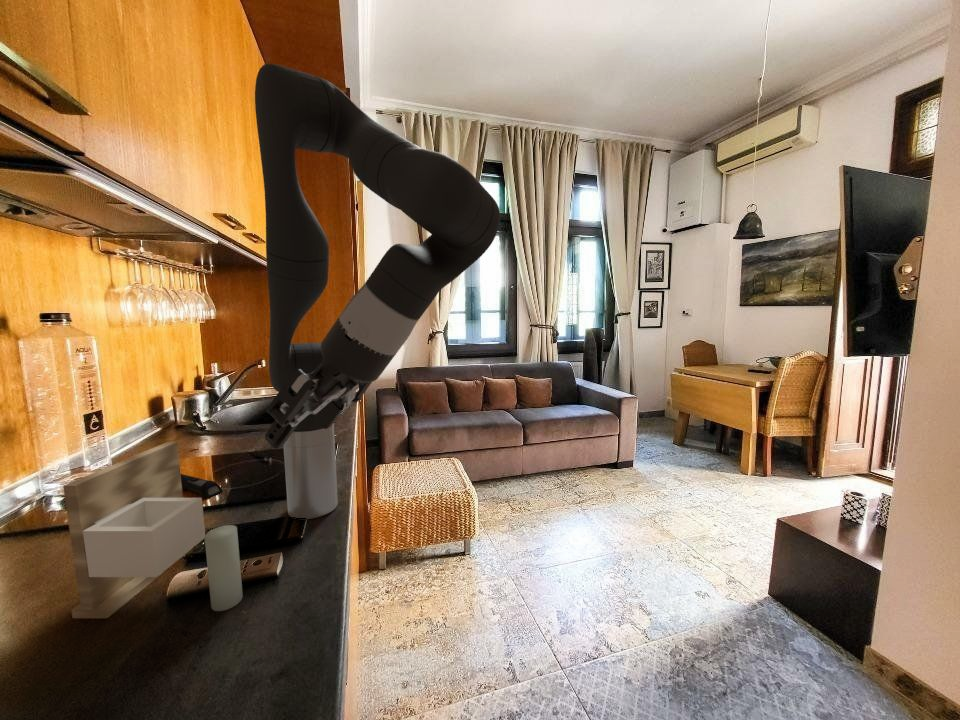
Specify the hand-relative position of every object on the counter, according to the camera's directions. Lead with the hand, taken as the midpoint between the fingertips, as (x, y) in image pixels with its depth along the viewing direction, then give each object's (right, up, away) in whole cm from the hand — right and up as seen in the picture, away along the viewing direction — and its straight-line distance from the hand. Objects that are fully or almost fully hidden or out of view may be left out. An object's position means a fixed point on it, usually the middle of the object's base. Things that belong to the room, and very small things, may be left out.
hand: (298, 432), depth 48 cm
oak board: (-28, -23, +10) cm, 38 cm away
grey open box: (-23, -18, +5) cm, 30 cm away
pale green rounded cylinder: (-12, -24, +5) cm, 27 cm away
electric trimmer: (-41, -20, +38) cm, 59 cm away
